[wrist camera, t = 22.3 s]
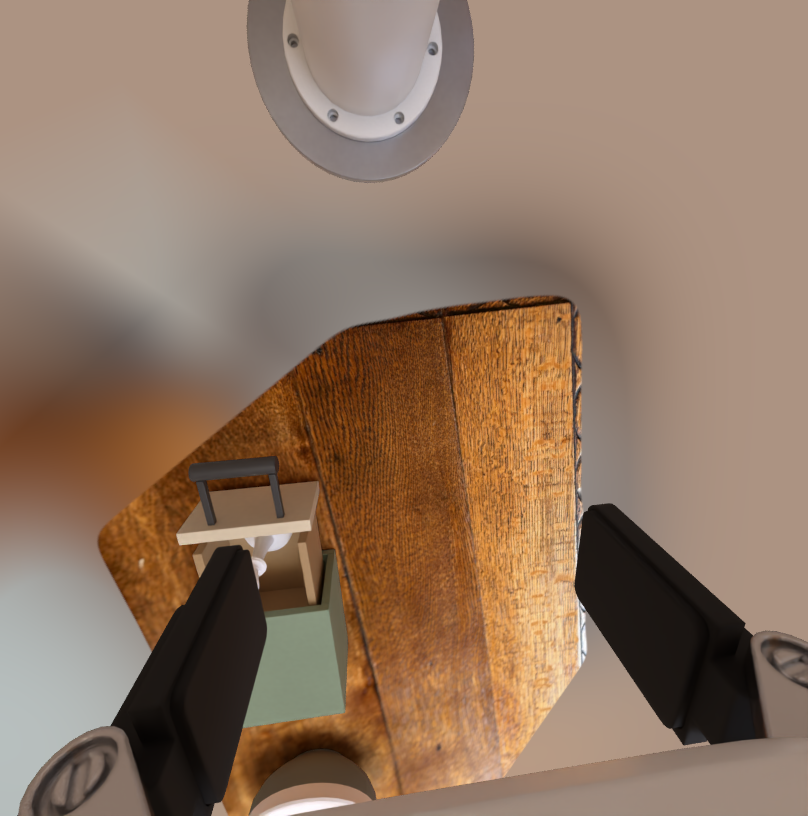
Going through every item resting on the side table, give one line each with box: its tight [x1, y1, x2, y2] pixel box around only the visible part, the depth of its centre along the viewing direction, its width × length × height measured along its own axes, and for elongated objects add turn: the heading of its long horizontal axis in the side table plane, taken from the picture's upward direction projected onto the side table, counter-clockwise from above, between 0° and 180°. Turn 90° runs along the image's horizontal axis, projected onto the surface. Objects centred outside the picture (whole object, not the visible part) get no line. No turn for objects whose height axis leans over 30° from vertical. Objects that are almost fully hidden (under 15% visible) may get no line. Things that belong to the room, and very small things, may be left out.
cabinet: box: [243, 549, 348, 728], centre depth 42 cm, size 15×13×9 cm
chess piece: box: [245, 533, 292, 589], centre depth 35 cm, size 5×5×10 cm
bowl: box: [249, 749, 376, 816], centre depth 52 cm, size 19×19×8 cm
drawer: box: [176, 456, 325, 612], centre depth 37 cm, size 19×11×7 cm, turn 3°
